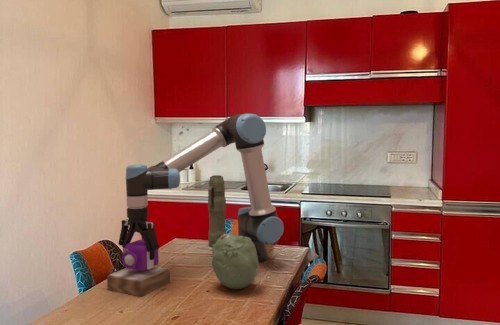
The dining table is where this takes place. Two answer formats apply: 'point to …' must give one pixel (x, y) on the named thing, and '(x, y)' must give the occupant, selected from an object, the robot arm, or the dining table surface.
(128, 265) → the toy camera
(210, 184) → the olive green segmented column
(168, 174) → the robot arm
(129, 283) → the stand
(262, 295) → the dining table surface
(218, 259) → the cabbage
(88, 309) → the dining table surface
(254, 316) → the dining table surface
